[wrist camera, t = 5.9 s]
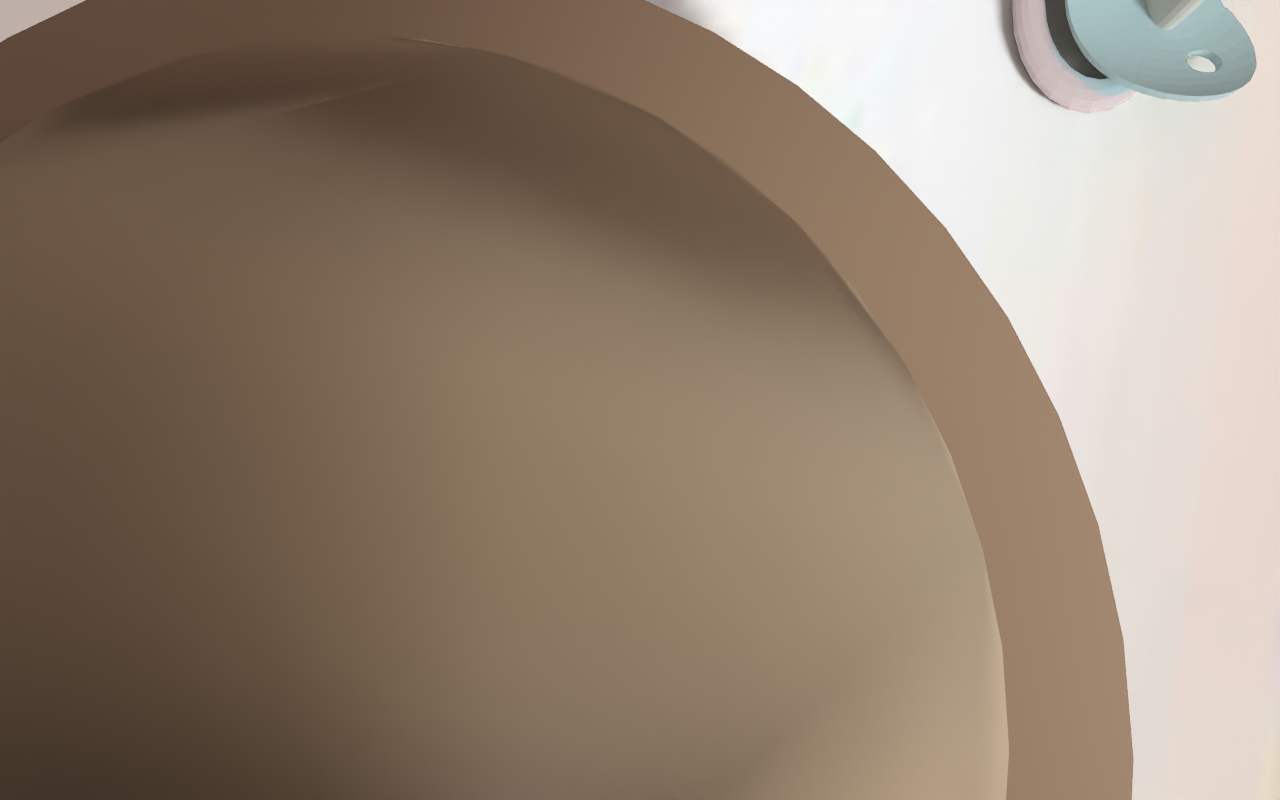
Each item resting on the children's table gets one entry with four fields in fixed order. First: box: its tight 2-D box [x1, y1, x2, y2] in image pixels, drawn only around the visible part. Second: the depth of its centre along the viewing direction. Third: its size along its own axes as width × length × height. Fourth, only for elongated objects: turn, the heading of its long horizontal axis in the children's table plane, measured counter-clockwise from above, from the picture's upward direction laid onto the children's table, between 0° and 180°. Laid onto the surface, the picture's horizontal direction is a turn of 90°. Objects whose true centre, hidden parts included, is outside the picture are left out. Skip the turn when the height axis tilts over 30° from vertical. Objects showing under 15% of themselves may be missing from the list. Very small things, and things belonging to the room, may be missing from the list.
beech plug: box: [0, 0, 1133, 800], centre depth 9 cm, size 6×6×13 cm
